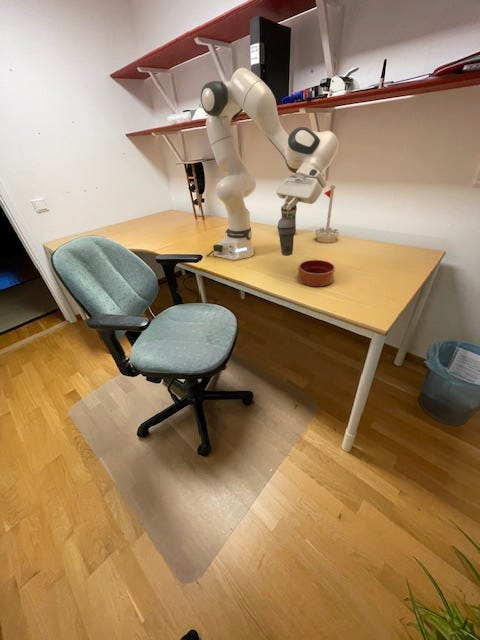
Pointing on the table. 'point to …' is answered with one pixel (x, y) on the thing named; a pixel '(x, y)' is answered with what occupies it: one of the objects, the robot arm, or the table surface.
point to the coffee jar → (290, 214)
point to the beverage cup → (286, 234)
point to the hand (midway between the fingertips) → (285, 208)
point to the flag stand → (328, 222)
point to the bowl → (316, 272)
